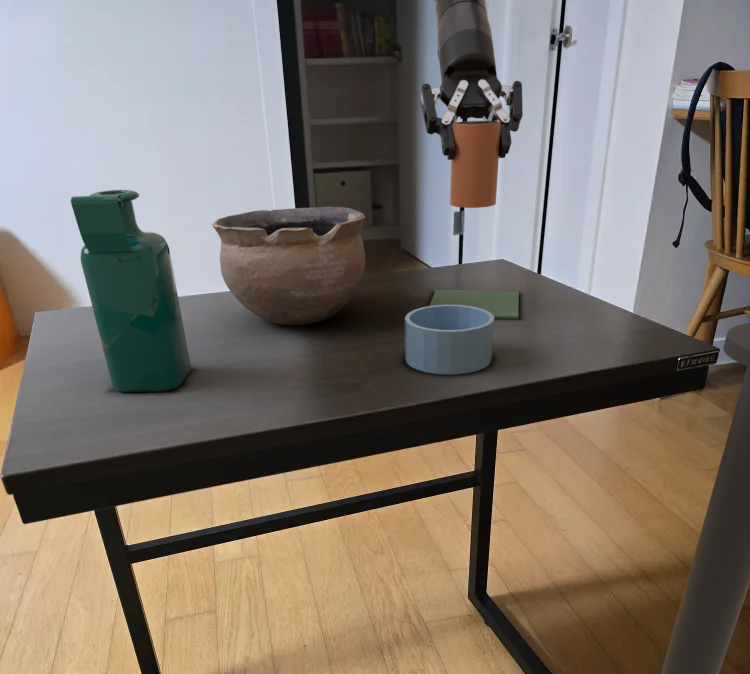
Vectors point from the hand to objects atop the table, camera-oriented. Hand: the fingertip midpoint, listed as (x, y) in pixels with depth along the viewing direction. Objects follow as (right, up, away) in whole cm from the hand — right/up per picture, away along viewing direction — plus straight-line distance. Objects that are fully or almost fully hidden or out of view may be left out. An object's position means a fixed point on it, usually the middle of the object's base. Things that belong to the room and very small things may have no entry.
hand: (477, 154), depth 89 cm
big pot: (-4, -28, -2) cm, 28 cm away
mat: (+2, -15, +19) cm, 24 cm away
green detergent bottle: (-42, -32, -5) cm, 53 cm away
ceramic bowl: (-26, -18, +16) cm, 35 cm away
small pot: (0, -5, +5) cm, 7 cm away
